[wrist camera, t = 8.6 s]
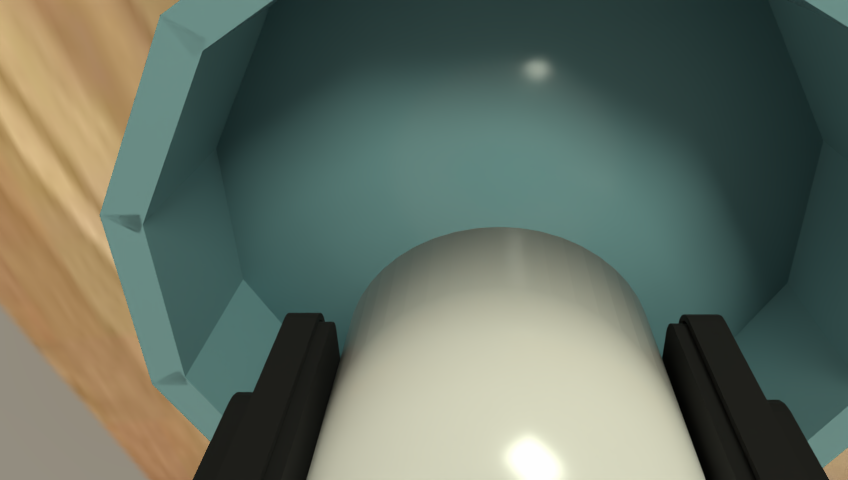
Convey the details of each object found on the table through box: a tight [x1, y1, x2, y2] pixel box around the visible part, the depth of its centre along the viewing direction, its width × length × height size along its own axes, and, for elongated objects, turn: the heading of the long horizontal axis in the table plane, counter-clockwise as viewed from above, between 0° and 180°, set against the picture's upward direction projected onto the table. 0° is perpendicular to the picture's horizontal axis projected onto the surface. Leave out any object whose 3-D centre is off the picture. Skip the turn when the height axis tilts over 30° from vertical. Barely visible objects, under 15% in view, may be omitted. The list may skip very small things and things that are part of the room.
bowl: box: [100, 0, 848, 468], centre depth 15 cm, size 16×16×5 cm
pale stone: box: [306, 227, 706, 480], centre depth 10 cm, size 5×5×5 cm
